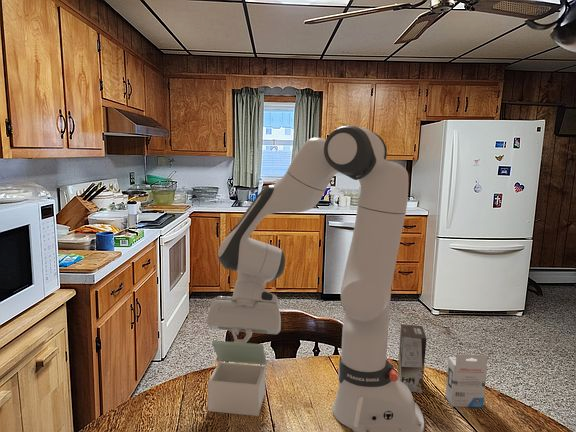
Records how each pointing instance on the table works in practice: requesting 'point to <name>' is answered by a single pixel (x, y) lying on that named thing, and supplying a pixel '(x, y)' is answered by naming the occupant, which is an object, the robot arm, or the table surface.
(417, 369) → the coffee box
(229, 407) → the storage box
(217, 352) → the box lid
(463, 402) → the ink box
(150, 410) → the table surface
